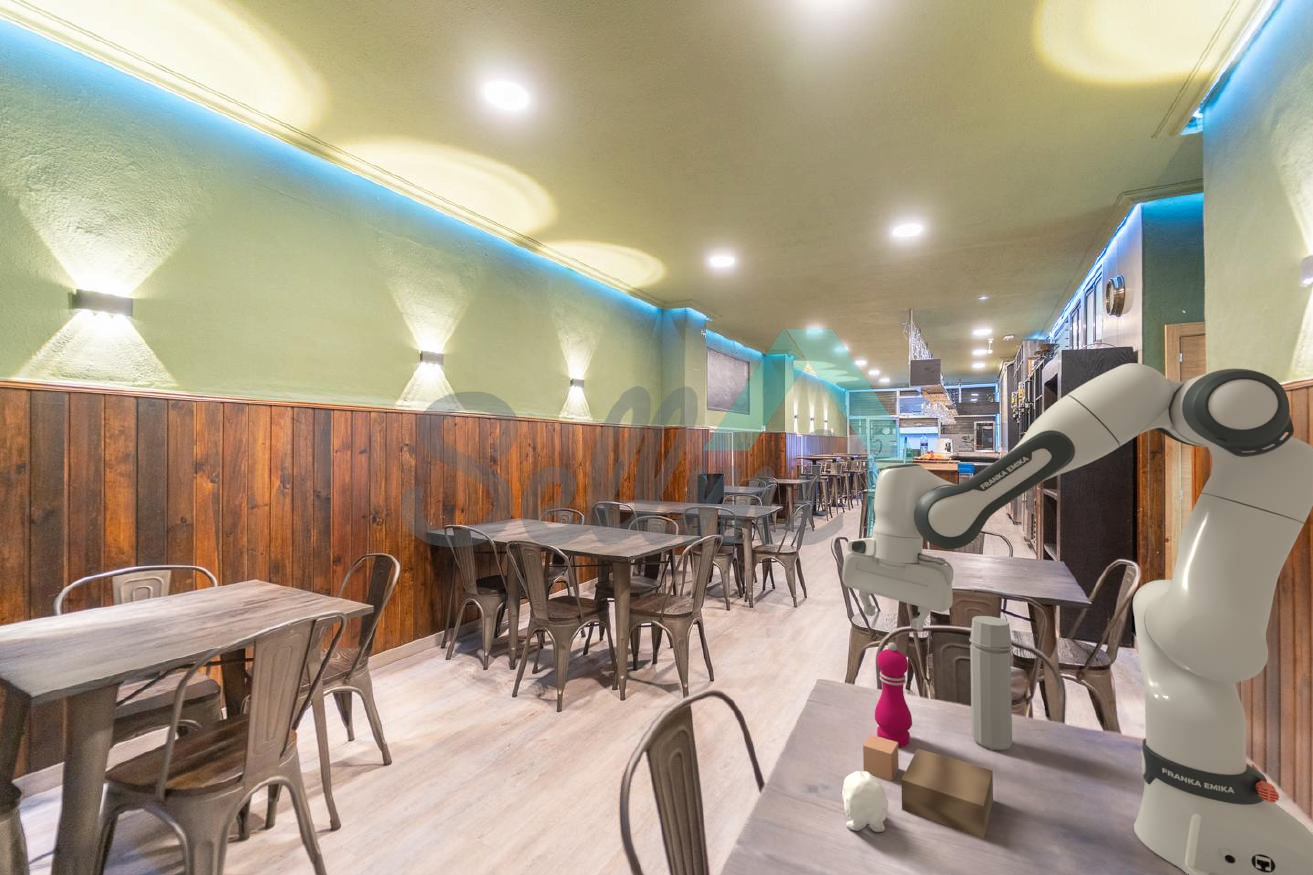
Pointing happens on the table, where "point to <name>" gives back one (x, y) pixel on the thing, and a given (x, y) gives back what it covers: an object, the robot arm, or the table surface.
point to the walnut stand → (948, 792)
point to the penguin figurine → (864, 801)
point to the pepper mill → (893, 697)
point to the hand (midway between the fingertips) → (892, 621)
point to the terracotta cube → (881, 757)
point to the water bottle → (991, 682)
